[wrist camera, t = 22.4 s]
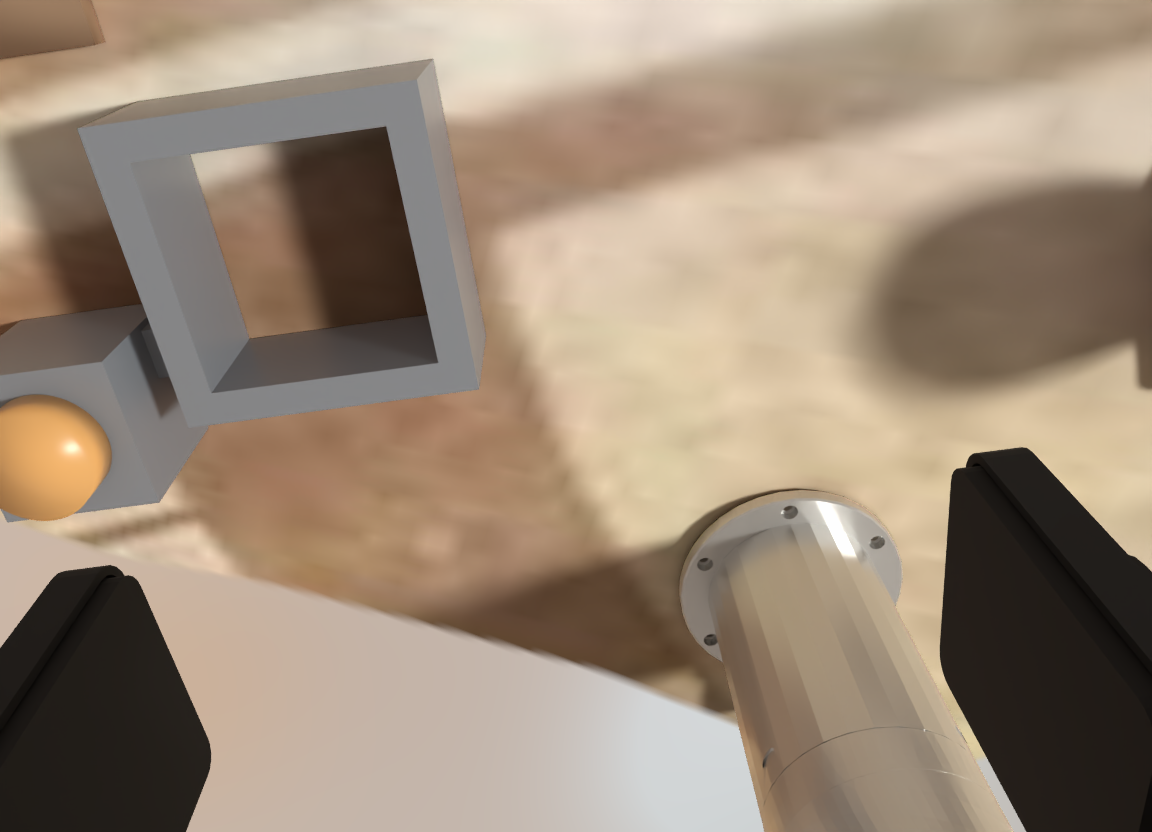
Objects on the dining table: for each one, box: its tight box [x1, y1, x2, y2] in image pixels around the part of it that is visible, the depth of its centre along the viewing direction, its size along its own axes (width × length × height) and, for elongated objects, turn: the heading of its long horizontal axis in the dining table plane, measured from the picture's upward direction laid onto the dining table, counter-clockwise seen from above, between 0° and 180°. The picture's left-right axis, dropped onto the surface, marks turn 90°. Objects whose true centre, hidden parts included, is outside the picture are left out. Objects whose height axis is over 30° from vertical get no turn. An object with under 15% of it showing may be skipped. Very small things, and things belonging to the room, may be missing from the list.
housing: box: [0, 59, 486, 522], centre depth 41 cm, size 16×22×7 cm
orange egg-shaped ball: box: [0, 394, 112, 521], centre depth 41 cm, size 5×5×6 cm
